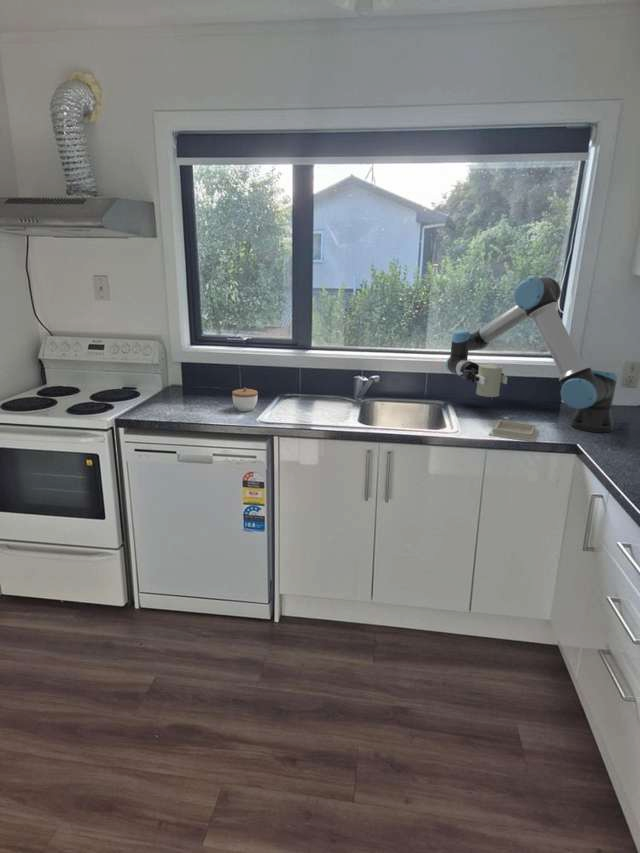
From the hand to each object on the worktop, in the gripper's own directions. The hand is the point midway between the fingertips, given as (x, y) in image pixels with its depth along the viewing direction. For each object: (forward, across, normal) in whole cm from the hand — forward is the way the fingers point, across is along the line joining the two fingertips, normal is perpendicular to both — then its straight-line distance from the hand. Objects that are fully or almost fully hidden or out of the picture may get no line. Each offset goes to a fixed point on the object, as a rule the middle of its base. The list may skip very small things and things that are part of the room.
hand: (495, 380), depth 212 cm
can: (-5, 0, -7) cm, 8 cm away
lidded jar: (-35, +95, -18) cm, 103 cm away
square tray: (+12, -3, -18) cm, 22 cm away
